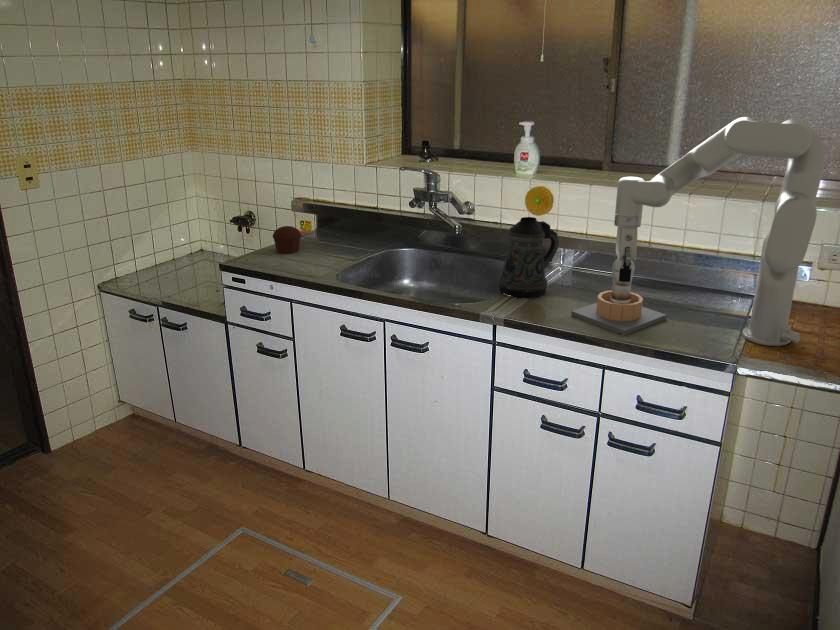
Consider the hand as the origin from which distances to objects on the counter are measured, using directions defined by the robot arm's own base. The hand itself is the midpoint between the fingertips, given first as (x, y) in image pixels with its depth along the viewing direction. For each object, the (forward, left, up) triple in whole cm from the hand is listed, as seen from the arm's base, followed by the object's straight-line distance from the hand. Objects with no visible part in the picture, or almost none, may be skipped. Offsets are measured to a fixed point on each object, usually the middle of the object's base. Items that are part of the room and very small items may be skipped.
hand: (622, 276), depth 213 cm
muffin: (+130, +45, -14) cm, 138 cm away
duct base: (0, 0, -13) cm, 13 cm away
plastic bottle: (0, -1, -12) cm, 12 cm away
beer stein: (+36, +4, -14) cm, 39 cm away
